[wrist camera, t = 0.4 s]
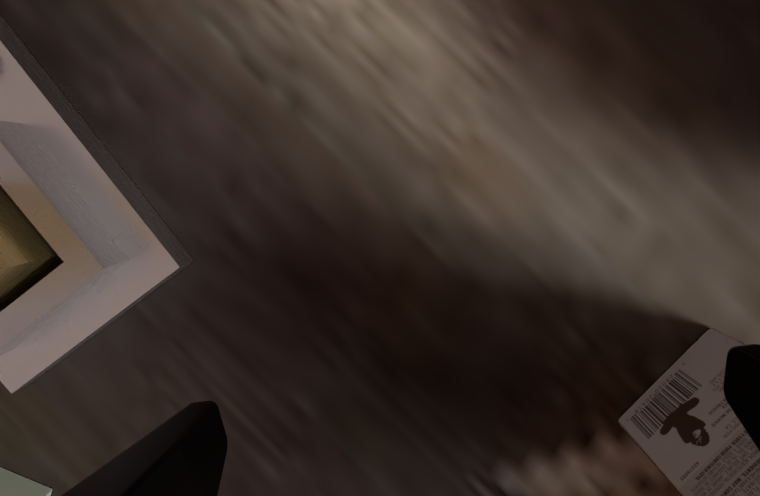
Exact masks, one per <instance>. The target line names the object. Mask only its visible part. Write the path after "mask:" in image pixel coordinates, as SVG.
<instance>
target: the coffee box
mask: <svg viewBox="0 0 760 496" xmlns="http://www.w3.org/2000/svg"><path fill="white" fill-rule="evenodd" d="M742 345H747V344H745V343H743V342H741V341H738V340H736V339H734V338H732V337H730V336H728V335H726V334H724V333H722V332H720V331H718V330H716V329H714V328H711V329H709V330H708V331H706V332H705V333H704V334H703V335H702V336H701V337H700V338H699V339H698V340H697V341H696V342H695V343H694V344H693V345H692V346H691V347H690V348H689V349H688V350H687V351H686V352H685V353H684V354H683V355H682V356H681V357H680V358H679V359H678V360H677V361H676V362H675V363H674V364H673V365H672V366H671V367H670V368H669V369H668V370H667V371H666V372H665V373H664V374H663V375H662V376H661V377H660V378H659V379H658V380H657V381H656V382H655V383H654V384H653V385H652V386H651V387H650V388H649V389H648V390H647V391H646V392H645V393H644V394H643V395H642V396H641V397H640V398H639V399H638V400H637V401H636V402H635V403H634V404H633V405H632V406H631V407H630V408H629V409H628V410H627V411H626V412H625V413H624V414H623V415H622V416H621V417H620V418H619V420H618V422H619V424H620V425H621V427H622V428H623V429H624V430H625V431H626V432H627V433H628V434H629V435H630V436H631V438H632V439H633V440H634V441H635V442H636V444H637V445H638V446H639V447H640V448H641V449H642V451H643V452H644V453H645V454H646V455H647V456H648V458H649V459H650V460H651V461H652V462H653V463H654V465H655V466H656V467H657V468H658V469H659V470H660V472H661V473H662V474H663V475H664V476H665V477H666V478H667V480H668V481H669V482H670V483H671V484H672V485H673V486H674V488H675V489H676V490H677V491H678V492H679V494H680V495H681V496H760V451H759V450H758V448H757V447H756V445H755V444H754V442H753V441H752V439H751V438H750V436H749V435H748V433H747V431H746V430H745V428H744V427H743V425H742V424H741V422H740V421H739V419H738V418H737V416H736V415H735V413H734V412H733V410H732V409H731V407H730V406H729V404H728V402H727V400H726V398H725V395H724V390H723V384H724V376H725V367H726V359H727V353H728V351H729V349H731V348H732V347H734V346H742Z"/></svg>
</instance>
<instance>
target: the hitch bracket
mask: <svg viewBox="0 0 760 496" xmlns="http://www.w3.org/2000/svg"><path fill="white" fill-rule="evenodd" d="M0 185H1V186H2V188H3V189H4V190H5V191H6V192H7V194H8V195H9V196H10V197H11V199H12V200H13V201H14V202H15V203H16V205H17V206H18V207H19V208H20V209H21V211H22V212H23V213H24V214H25V216H26V217H27V218H28V219H29V220H30V222H31V223H32V224H33V225H34V226H35V228H36V229H37V230H38V231H39V233H40V234H41V235H42V236H43V237H44V239H45V240H46V241H47V242H48V243H49V245H50V246H51V247H52V248H53V250H54V251H55V252H56V253H57V254H58V256H59V257H60V258H61V259H62V260H63V262H64V263H62V264H61V265H60V266H58V267H57V268H56V269H55V270H53V271H52V272H51V273H49V274H48V275H47V276H46V277H44V278H43V279H42V280H41V281H39V282H38V283H37V284H35V285H34V286H33V287H32V288H30V289H29V290H28V291H27V292H25V293H24V294H23V295H21V296H19V297H16V298H13V299H10V300H7V301H4V302H1V303H0V381H1V382H2V383H3V384H4V385H5V387H6V388H7V389H8V390H9V391H10V392H11V394H12V393H14V392H15V391H17V390H19V389H21V388H22V387H24V386H26V385H27V384H29V383H31V382H32V381H34V380H36V379H37V378H39V377H40V376H41V375H43V374H44V373H45V372H47V371H48V370H49V369H51V368H52V367H53V366H54V365H56V364H57V363H58V362H60V361H61V360H62V359H64V358H65V357H66V356H68V355H69V354H70V353H72V352H73V351H74V350H76V349H77V348H78V347H80V346H81V345H82V344H84V343H85V342H86V341H88V340H89V339H90V338H92V337H93V336H94V335H96V334H97V333H98V332H100V331H101V330H102V329H104V328H105V327H106V326H108V325H109V324H110V323H112V322H113V321H114V320H116V319H117V318H118V317H120V316H121V315H122V314H124V313H125V312H126V311H128V310H129V309H130V308H132V307H133V306H134V305H136V304H137V303H138V302H140V301H141V300H142V299H144V298H145V297H146V296H148V295H149V294H150V293H152V292H153V291H154V290H156V289H157V288H158V287H160V286H161V285H162V284H164V283H165V282H166V281H168V280H169V279H170V278H172V277H173V276H174V275H176V274H177V273H178V272H180V271H181V270H182V269H184V268H185V267H186V266H188V265H189V264H190V263H192V262H193V261H194V260H193V259H192V257H191V256H190V255H189V254H188V252H187V251H186V250H185V249H184V247H183V246H182V245H181V243H180V242H179V241H178V240H177V238H176V237H175V236H174V235H173V233H172V232H171V231H170V229H169V228H168V227H167V226H166V224H165V223H164V222H163V221H162V219H161V218H160V217H159V215H158V214H157V213H156V212H155V210H154V209H153V208H152V207H151V205H150V204H149V203H148V202H147V200H146V199H145V198H144V196H143V195H142V194H141V193H140V191H139V190H138V189H137V188H136V186H135V185H134V184H133V182H132V181H131V180H130V179H129V177H128V176H127V175H126V174H125V172H124V171H123V170H122V168H121V167H120V166H119V165H118V163H117V162H116V161H115V160H114V158H113V157H112V156H111V155H110V153H109V152H108V151H107V149H106V148H105V147H104V146H103V144H102V143H101V142H100V141H99V139H98V138H97V137H96V135H95V134H94V133H93V132H92V130H91V129H90V128H89V127H88V125H87V124H86V123H85V121H84V120H83V119H82V118H81V116H80V115H79V114H78V113H77V111H76V110H75V109H74V107H73V106H72V105H71V104H70V102H69V101H68V100H67V99H66V97H65V96H64V95H63V94H62V92H61V91H60V90H59V88H58V87H57V86H56V85H55V83H54V82H53V81H52V80H51V78H50V77H49V76H48V74H47V73H46V72H45V71H44V69H43V68H42V67H41V66H40V64H39V63H38V62H37V60H36V59H35V58H34V57H33V55H32V54H31V53H30V52H29V50H28V49H27V48H26V47H25V45H24V44H23V43H22V41H21V40H20V39H19V38H18V36H17V35H16V34H15V33H14V31H13V30H12V29H11V27H10V26H9V25H8V24H7V22H6V21H5V20H4V19H3V18H2V17H0Z"/></svg>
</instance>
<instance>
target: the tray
mask: <svg viewBox="0 0 760 496" xmlns="http://www.w3.org/2000/svg"><path fill="white" fill-rule="evenodd" d="M52 490H53V489H51V488H49V487H47V486H44V485H42V484H40V483H37V482H35V481H32V480H30V479H28V478H25V477H23V476H20V475H18V474H16V473H13V472H11V471H8V470H6V469H4V468H1V467H0V496H50V495H51V492H52Z"/></svg>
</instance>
